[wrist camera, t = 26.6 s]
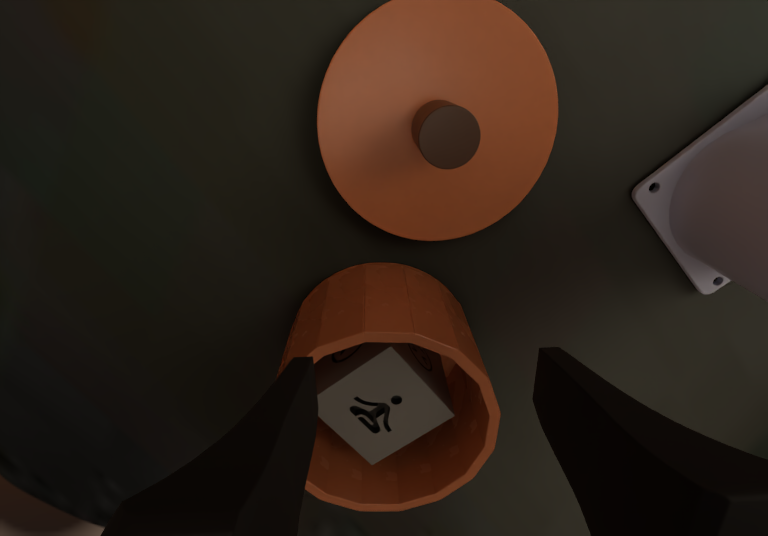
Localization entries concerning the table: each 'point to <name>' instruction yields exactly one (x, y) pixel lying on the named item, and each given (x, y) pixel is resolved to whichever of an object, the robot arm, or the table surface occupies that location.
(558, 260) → the table surface
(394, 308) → the pot
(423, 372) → the dice cube
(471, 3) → the lid
